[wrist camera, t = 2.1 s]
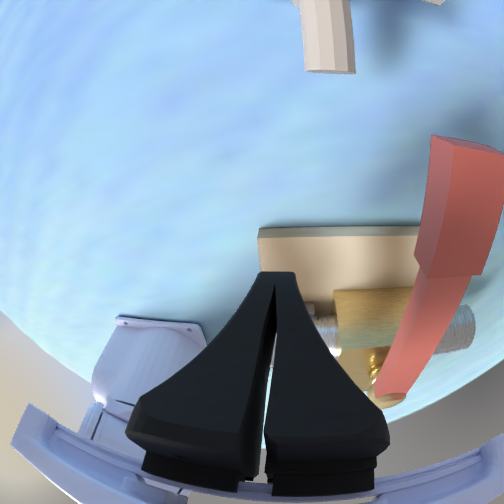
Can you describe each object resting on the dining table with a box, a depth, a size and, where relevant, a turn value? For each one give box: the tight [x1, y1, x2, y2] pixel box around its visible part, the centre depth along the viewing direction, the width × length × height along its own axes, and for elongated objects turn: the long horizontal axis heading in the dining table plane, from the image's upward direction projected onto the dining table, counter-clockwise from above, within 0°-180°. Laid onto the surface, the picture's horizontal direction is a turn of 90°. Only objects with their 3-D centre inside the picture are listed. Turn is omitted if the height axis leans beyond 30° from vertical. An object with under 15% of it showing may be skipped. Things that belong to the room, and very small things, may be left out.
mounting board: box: [257, 226, 420, 368], centre depth 19 cm, size 16×14×1 cm
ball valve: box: [270, 286, 475, 392], centre depth 17 cm, size 16×6×7 cm, turn 96°
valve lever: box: [367, 135, 504, 409], centre depth 10 cm, size 15×3×1 cm, turn 6°
